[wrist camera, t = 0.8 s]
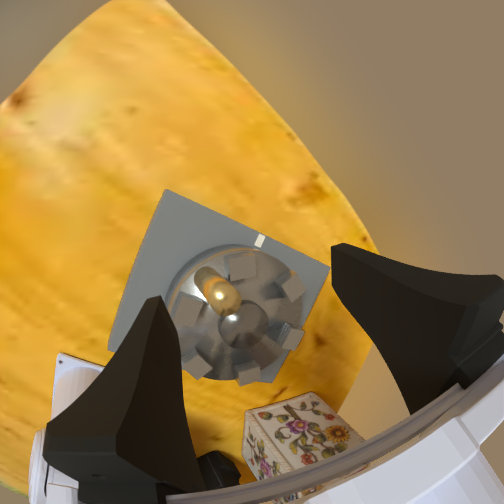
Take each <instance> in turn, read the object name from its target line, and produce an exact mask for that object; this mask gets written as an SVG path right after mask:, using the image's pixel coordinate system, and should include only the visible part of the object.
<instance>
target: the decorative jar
mask: <svg viewBox="0 0 504 504" xmlns="http://www.w3.org/2000/svg"><path fill="white" fill-rule="evenodd" d="M364 441H366V440H365V439H364V438H363V437H361V436H360V435H359V434H358V433H357V432H356V431H355V430H354V429H353V428H352V427H351V426H350V425H349V424H347V423H346V422H345V421H344V420H343V419H342V418H341V417H340V416H339V415H338V414H337V413H336V412H335V411H334V410H333V409H332V408H331V407H330V406H329V405H327V404H326V403H325V402H324V401H323V400H322V399H321V398H320V397H319V396H317V395H316V394H315V393H313V392H308V393H306V394H303V395H300V396H297V397H294V398H291V399H288V400H284V401H281V402H277V403H274V404H270V405H267V406H264V407H260V408H255V409H251V410H247V411H245V421H244V431H243V441H242V456H243V458H244V459H245V461H246V463H247V464H248V466H249V468H250V470H251V471H252V473H253V474H254V476H255V477H256V479H257V481H259V480H263V479H267V478H270V477H274V476H277V475H280V474H284V473H287V472H290V471H293V470H296V469H299V468H302V467H305V466H308V465H310V464H313V463H316V462H318V461H321V460H324V459H326V458H329V457H331V456H333V455H336V454H338V453H340V452H343V451H345V450H347V449H349V448H352V447H354V446H356V445H358V444H360V443H362V442H364ZM368 467H370V463H368V464H366V465H364V466H362V467H360V468H358V469H356V470H354V471H352V472H350V473H347V474H345V475H343V476H340V477H338V478H336V479H333V480H331V481H328V482H326V483H323V484H321V485H318V486H315V487H313V488H310V489H307V490H304V491H301V492H298V493H295V494H292V495H288V496H285V497H282V498H278V499H275V500H271V501H272V502H273V503H274V504H284V503H287V502H290V501H293V500H296V499H299V498H301V497H304V496H307V495H309V494H312V493H314V492H317V491H319V490H322V489H323V488H325V487H327V486H330V485H332V484H334V483H336V482H339V481H341V480H343V479H345V478H347V477H349V476H351V475H354V474H356V473H358V472H360V471H362V470H364V469H366V468H368Z"/></svg>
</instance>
